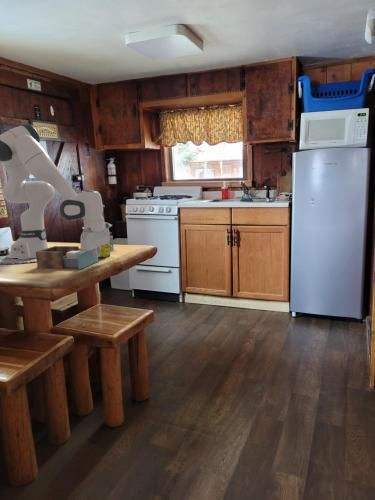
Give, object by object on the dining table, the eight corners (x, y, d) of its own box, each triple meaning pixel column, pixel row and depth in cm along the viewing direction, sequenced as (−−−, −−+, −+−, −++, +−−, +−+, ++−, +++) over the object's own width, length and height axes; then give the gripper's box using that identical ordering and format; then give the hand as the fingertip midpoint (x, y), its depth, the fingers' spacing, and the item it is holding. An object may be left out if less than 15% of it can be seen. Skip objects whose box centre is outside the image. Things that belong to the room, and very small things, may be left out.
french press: (117, 248, 215) (113, 203, 210) (112, 252, 203) (109, 205, 199) (99, 249, 215) (95, 204, 210) (94, 253, 204) (90, 206, 199)
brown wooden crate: (37, 268, 175) (35, 251, 174) (56, 261, 189) (54, 246, 187) (62, 268, 171) (60, 252, 170) (79, 261, 185) (78, 246, 184)
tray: (55, 268, 172) (54, 253, 171) (74, 260, 186) (72, 247, 185) (81, 268, 168) (79, 253, 167) (98, 261, 183) (97, 247, 181)
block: (67, 263, 176) (66, 252, 175) (73, 261, 181) (72, 250, 180) (77, 263, 174) (75, 252, 174) (82, 261, 179) (81, 250, 178)
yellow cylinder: (106, 258, 190) (104, 236, 188) (94, 258, 191) (92, 236, 189) (110, 256, 196) (109, 234, 194) (99, 256, 197) (98, 234, 195)
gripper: (88, 230, 161) (91, 262, 163) (111, 223, 180) (113, 252, 183) (75, 230, 162) (78, 262, 165) (98, 223, 182) (101, 252, 184)
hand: (96, 257), depth 174 cm, fingers closed
